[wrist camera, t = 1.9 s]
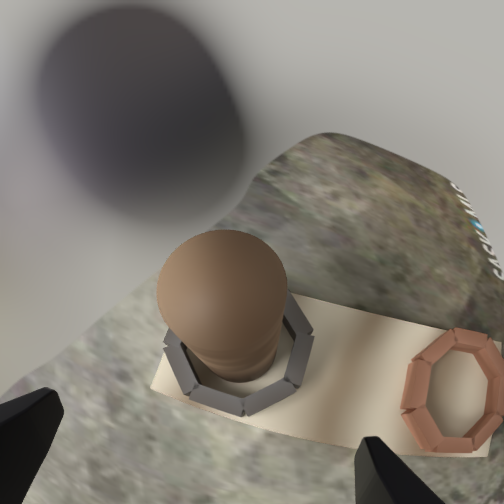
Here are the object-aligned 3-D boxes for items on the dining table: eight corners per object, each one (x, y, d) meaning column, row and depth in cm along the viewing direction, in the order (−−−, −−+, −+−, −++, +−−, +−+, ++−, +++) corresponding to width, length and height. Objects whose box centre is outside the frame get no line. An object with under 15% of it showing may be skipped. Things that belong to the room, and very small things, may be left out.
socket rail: (492, 346, 18) (513, 335, 16) (477, 456, 14) (500, 456, 11) (202, 275, 22) (195, 256, 20) (156, 390, 18) (141, 385, 16)
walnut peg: (210, 389, 17) (164, 361, 9) (197, 320, 19) (152, 243, 11) (284, 373, 17) (303, 332, 9) (267, 305, 19) (269, 219, 12)
